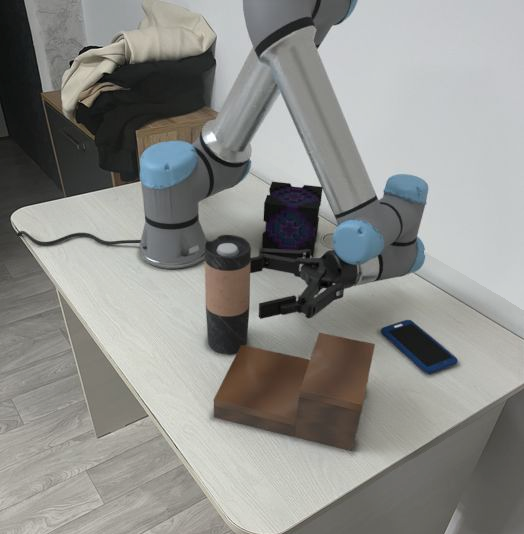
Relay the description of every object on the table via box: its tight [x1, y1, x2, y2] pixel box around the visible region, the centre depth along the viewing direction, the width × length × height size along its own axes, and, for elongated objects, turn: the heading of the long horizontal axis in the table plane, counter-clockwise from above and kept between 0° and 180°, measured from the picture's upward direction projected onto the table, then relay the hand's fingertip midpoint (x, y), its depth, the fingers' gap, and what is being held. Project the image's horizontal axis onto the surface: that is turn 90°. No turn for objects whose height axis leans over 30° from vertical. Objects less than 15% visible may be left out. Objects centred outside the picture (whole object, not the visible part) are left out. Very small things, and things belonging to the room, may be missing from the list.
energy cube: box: [261, 181, 323, 258], centre depth 126 cm, size 12×12×12 cm
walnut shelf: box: [213, 332, 376, 452], centre depth 85 cm, size 22×14×10 cm, turn 74°
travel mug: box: [204, 234, 252, 355], centre depth 93 cm, size 8×8×20 cm
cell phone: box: [380, 319, 458, 374], centre depth 100 cm, size 7×14×1 cm, turn 28°
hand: (243, 289), depth 93 cm, fingers open, 13 cm apart
